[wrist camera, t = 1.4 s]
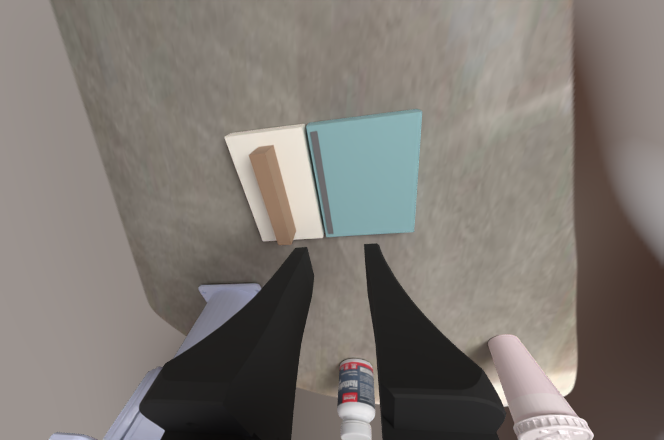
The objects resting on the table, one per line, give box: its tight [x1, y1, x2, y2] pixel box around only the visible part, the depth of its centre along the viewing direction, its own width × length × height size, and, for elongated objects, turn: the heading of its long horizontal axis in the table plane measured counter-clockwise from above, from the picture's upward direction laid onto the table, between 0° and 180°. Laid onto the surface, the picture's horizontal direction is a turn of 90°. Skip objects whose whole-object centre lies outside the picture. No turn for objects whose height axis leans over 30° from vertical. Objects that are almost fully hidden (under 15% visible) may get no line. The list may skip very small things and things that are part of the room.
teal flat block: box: [306, 109, 422, 237], centre depth 19 cm, size 10×8×1 cm
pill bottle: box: [337, 358, 375, 440], centre depth 34 cm, size 5×5×9 cm
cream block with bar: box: [224, 124, 324, 245], centre depth 20 cm, size 10×6×3 cm, turn 8°
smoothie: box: [488, 334, 594, 440], centre depth 25 cm, size 6×6×14 cm
